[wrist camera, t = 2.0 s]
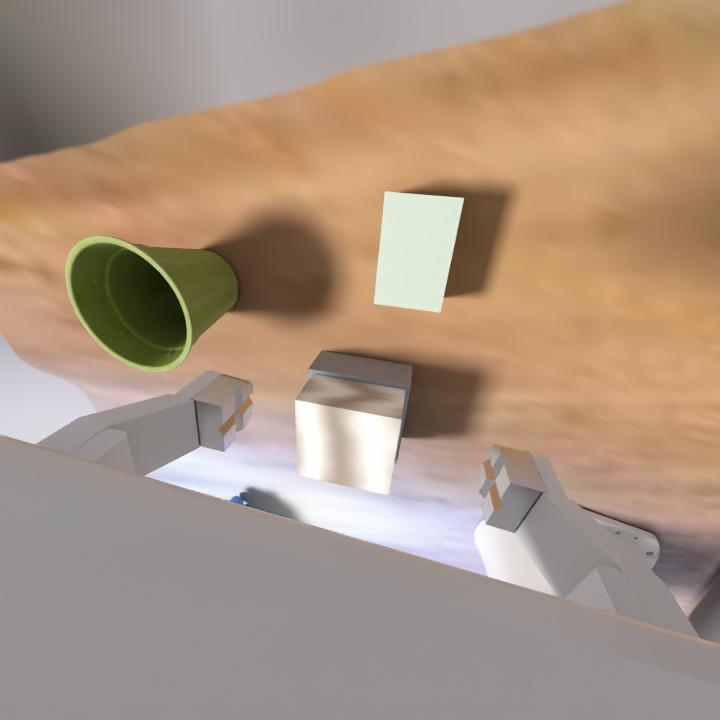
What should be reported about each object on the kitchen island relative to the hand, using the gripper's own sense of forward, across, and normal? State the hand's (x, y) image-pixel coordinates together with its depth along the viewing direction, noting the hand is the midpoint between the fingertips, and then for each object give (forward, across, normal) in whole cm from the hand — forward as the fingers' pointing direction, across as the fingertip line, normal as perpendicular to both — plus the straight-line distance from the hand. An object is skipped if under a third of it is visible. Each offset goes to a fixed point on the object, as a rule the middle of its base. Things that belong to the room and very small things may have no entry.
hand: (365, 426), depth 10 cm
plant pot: (+24, +22, +5) cm, 33 cm away
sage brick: (+24, 0, -3) cm, 24 cm away
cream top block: (+19, +2, +16) cm, 25 cm away
